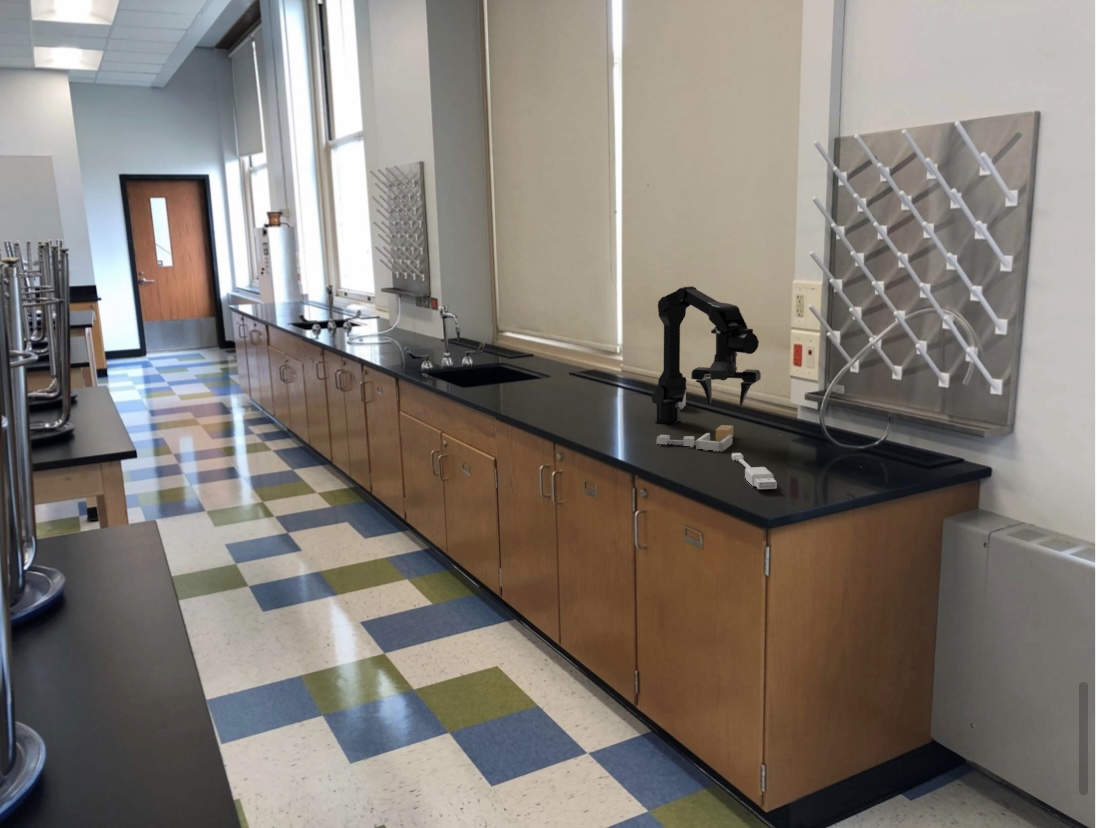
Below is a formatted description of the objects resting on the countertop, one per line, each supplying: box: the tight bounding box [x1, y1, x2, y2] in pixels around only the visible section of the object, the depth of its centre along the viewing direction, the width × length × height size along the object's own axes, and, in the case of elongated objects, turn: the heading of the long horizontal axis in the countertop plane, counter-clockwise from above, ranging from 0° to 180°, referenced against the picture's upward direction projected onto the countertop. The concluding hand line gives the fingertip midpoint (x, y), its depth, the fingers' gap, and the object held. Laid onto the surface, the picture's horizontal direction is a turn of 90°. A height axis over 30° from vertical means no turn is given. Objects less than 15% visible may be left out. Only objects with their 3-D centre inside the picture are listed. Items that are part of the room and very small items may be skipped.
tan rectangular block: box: [715, 424, 734, 442], centre depth 248 cm, size 4×6×4 cm, turn 153°
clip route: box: [655, 434, 696, 448], centre depth 242 cm, size 12×4×2 cm, turn 62°
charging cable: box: [731, 452, 778, 490], centre depth 213 cm, size 5×32×3 cm, turn 1°
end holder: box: [695, 432, 733, 453], centre depth 239 cm, size 8×10×2 cm
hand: (725, 404), depth 246 cm, fingers open, 9 cm apart
